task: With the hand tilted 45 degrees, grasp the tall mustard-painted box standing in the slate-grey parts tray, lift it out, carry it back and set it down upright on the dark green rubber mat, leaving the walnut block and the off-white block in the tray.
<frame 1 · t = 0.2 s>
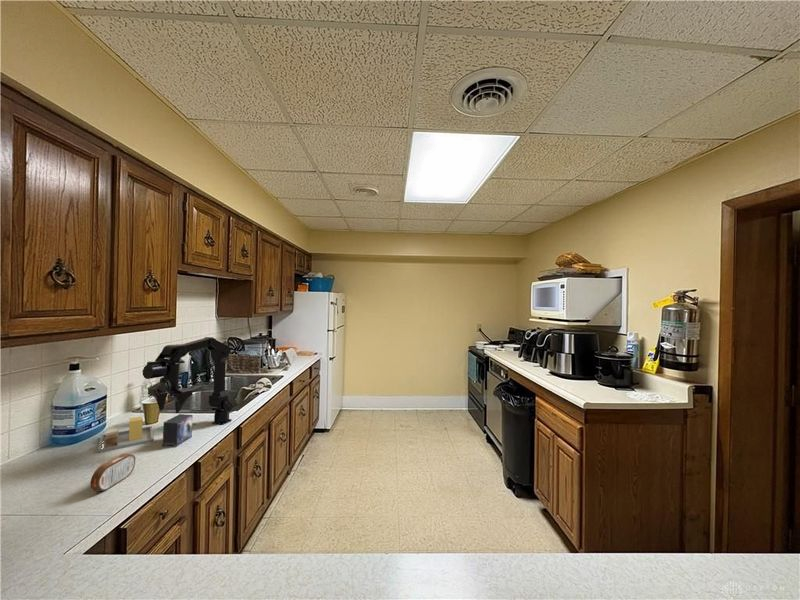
hand: (169, 411, 143), 14 cm above the counter, tool pointing down, fingers open, 9 cm apart
tray: (127, 440, 147), on the counter
mat: (175, 426, 163), on the counter
walnut block: (111, 445, 141), resting on tray
tin: (114, 484, 114), on the counter
off-white block: (112, 439, 146), resting on tray
mustard box: (135, 438, 148), resting on tray
small box: (177, 442, 146), on the counter
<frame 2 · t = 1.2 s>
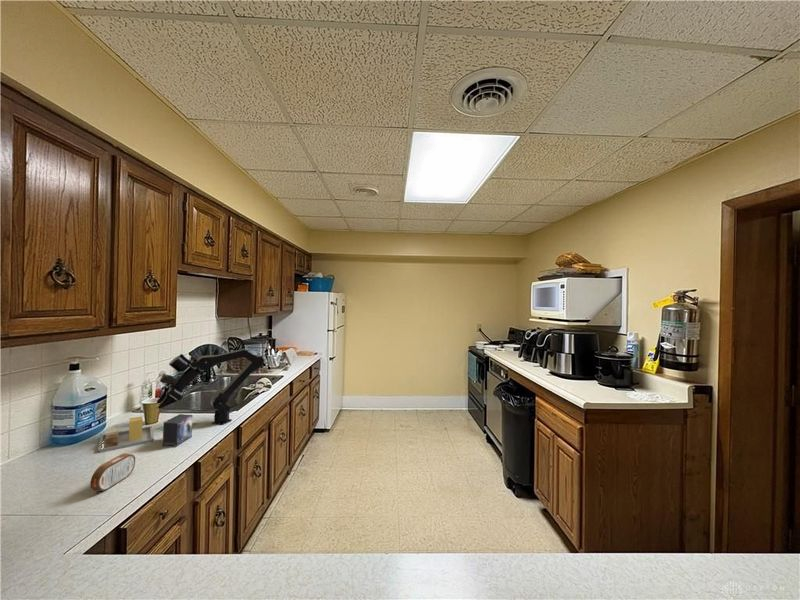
hand: (157, 405, 153), 13 cm above the counter, tool tilted 45°, fingers open, 9 cm apart
nothing on the counter moved.
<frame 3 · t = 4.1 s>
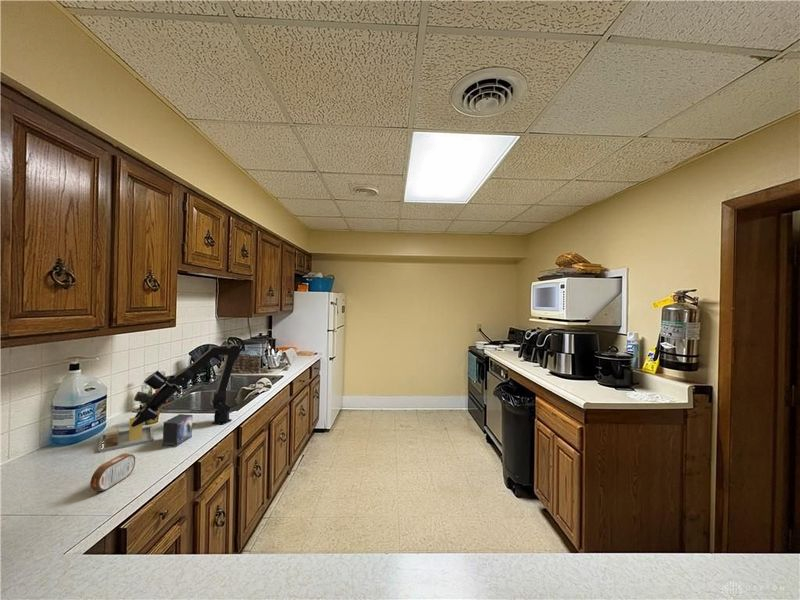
hand: (131, 424, 148), 7 cm above the counter, tool tilted 45°, fingers closed on mustard box, 4 cm apart
mustard box: (135, 438, 148), resting on tray, touching gripper
everything else where it was.
when the fingers open (8 cm above the counter, at t = 8.1 s): mustard box drops 1 cm, resting on mat.
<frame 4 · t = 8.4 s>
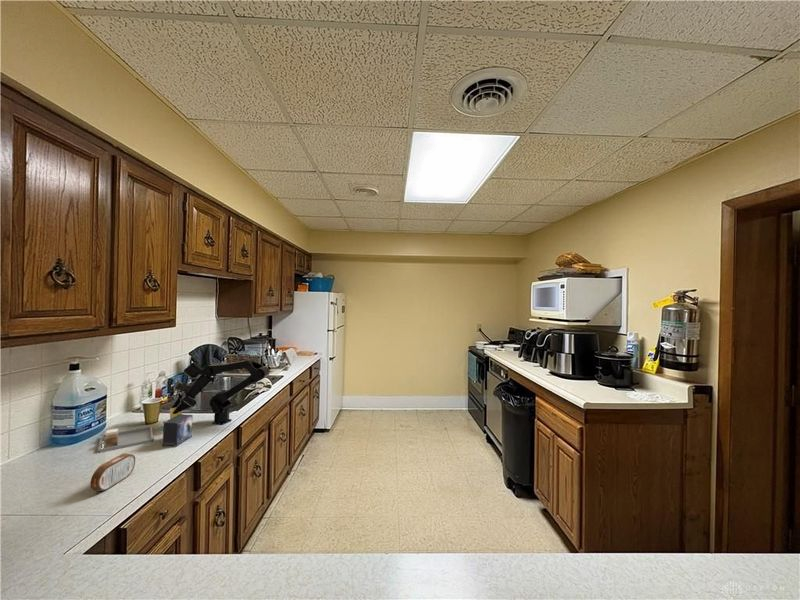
hand: (172, 411, 162), 8 cm above the counter, tool tilted 45°, fingers open, 8 cm apart
mustard box: (175, 426, 163), resting on mat
everything else where it was.
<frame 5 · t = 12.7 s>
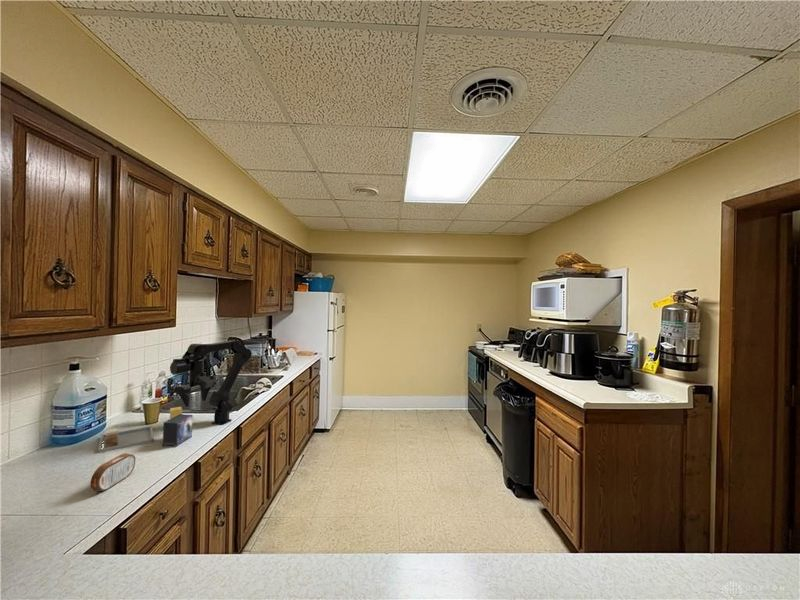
hand: (195, 403, 158), 13 cm above the counter, tool pointing down, fingers open, 9 cm apart
nothing on the counter moved.
at the end: mustard box inside the target area (0.0 cm from its centre), resting on mat; mustard box tilted 0°; the gripper is holding nothing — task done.
